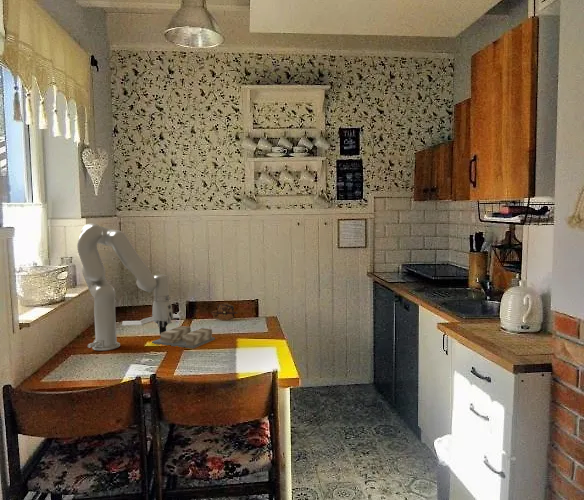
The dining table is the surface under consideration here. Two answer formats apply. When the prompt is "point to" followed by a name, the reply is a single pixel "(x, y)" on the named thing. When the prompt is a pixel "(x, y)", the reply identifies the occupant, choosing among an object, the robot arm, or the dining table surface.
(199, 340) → the fixed plank
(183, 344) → the floor panel
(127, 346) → the dining table surface
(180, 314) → the molding
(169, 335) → the ash plank
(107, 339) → the robot arm
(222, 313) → the wooden carving
